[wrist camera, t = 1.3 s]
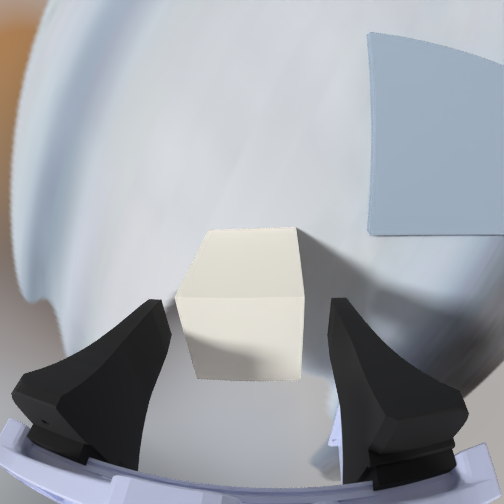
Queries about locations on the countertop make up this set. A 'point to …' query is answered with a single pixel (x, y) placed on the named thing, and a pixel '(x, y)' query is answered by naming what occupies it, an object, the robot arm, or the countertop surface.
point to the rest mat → (435, 140)
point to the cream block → (245, 305)
